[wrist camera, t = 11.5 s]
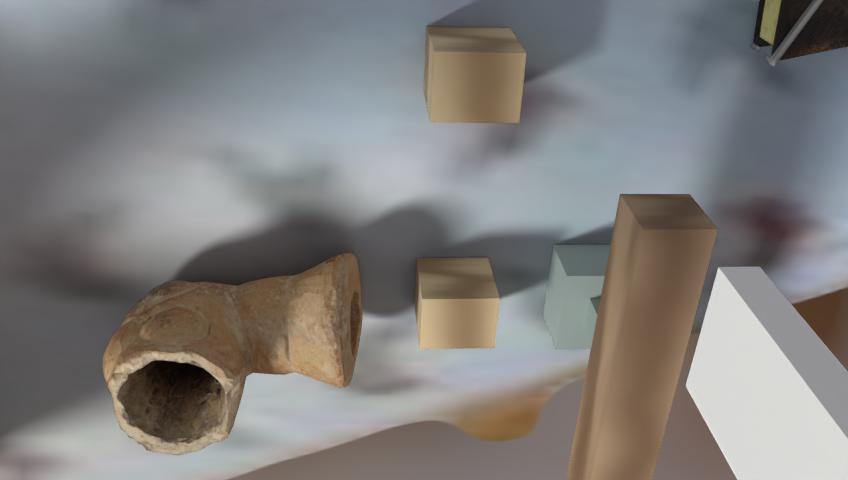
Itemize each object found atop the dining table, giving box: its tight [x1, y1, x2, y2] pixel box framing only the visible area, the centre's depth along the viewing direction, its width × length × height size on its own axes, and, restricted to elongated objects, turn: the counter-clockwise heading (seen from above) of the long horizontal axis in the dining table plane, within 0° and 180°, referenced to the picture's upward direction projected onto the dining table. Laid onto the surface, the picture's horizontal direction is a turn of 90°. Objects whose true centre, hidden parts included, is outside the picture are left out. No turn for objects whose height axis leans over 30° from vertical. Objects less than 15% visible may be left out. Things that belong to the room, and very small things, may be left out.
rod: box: [567, 194, 718, 480], centre depth 48 cm, size 4×22×4 cm, turn 178°
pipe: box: [103, 253, 362, 455], centre depth 51 cm, size 9×16×10 cm, turn 99°
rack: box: [415, 26, 527, 349], centre depth 49 cm, size 5×20×5 cm, turn 178°
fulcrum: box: [543, 244, 611, 349], centre depth 53 cm, size 6×6×8 cm
